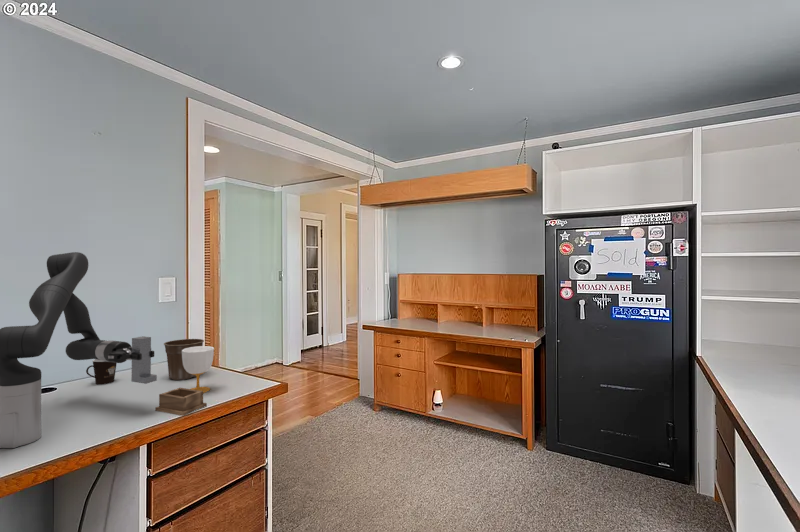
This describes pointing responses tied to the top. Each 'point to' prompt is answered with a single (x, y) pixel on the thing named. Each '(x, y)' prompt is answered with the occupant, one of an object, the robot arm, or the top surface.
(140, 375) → the bracket
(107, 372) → the coffee mug
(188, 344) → the plant pot
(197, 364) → the cup
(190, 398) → the box
